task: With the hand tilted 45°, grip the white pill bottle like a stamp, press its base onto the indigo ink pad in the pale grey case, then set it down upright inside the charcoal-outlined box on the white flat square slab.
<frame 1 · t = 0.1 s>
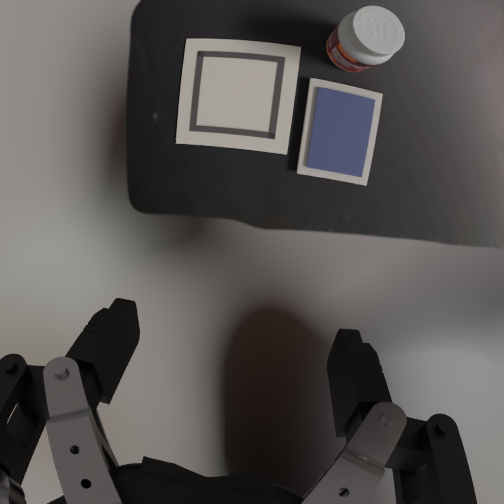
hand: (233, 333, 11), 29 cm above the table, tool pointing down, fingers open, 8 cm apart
pill bottle: (349, 50, 30), on the table
white flat square slab: (236, 92, 33), on the table
ink pad: (338, 131, 34), on the table
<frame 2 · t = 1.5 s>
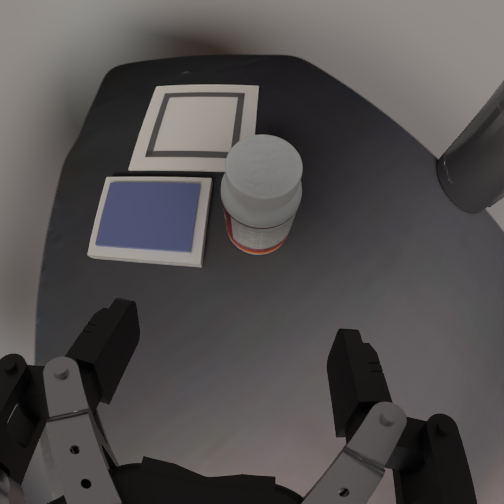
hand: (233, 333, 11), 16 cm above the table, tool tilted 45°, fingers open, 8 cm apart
pill bottle: (257, 227, 30), on the table
white flat square slab: (197, 122, 34), on the table
ink pad: (150, 220, 30), on the table
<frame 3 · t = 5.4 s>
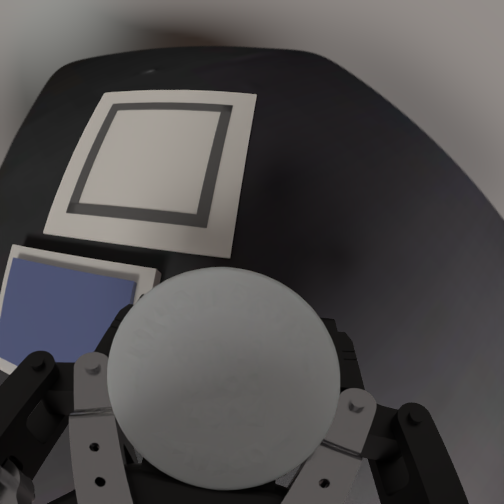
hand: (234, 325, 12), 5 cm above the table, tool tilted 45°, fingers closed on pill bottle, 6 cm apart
pill bottle: (233, 361, 17), on the table, touching gripper
white flat square slab: (150, 155, 21), on the table
ink pad: (66, 326, 17), on the table
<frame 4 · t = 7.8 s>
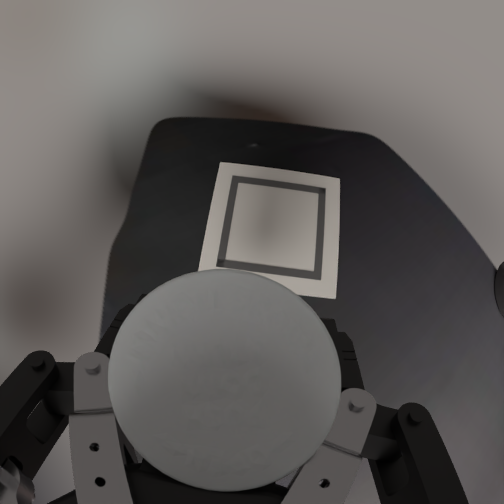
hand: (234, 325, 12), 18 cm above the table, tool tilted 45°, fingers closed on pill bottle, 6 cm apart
pill bottle: (233, 362, 17), point 12 cm above the table, touching gripper
white flat square slab: (274, 225, 32), on the table
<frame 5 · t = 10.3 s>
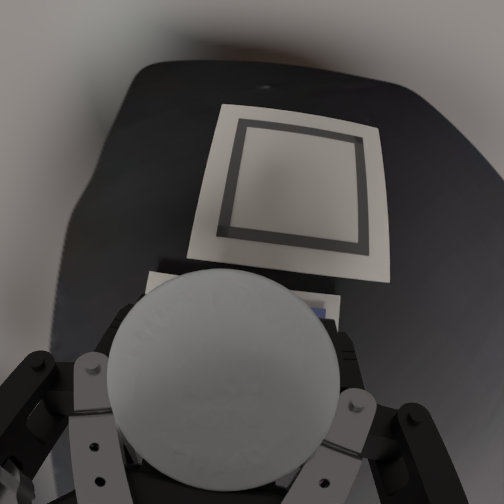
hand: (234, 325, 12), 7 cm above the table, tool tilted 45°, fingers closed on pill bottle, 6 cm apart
pill bottle: (233, 362, 17), point 2 cm above the table, touching gripper, ink pad
white flat square slab: (299, 180, 22), on the table
ink pad: (234, 358, 18), on the table
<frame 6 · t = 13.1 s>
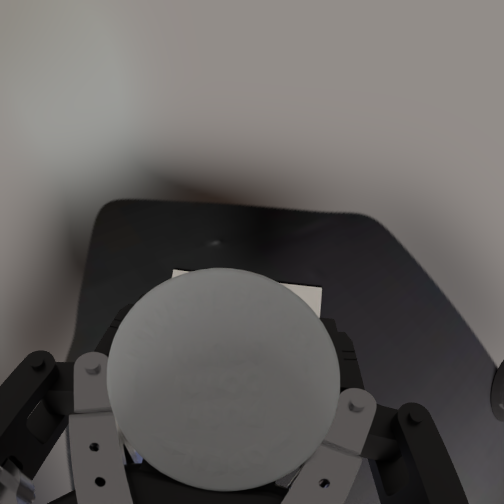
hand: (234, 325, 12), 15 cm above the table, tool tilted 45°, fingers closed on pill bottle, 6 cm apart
pill bottle: (233, 362, 17), point 10 cm above the table, touching gripper
white flat square slab: (237, 355, 26), on the table
when the fingers open (7 cm above the table, at t = 15.4 s): pill bottle drops 1 cm, resting on white flat square slab.
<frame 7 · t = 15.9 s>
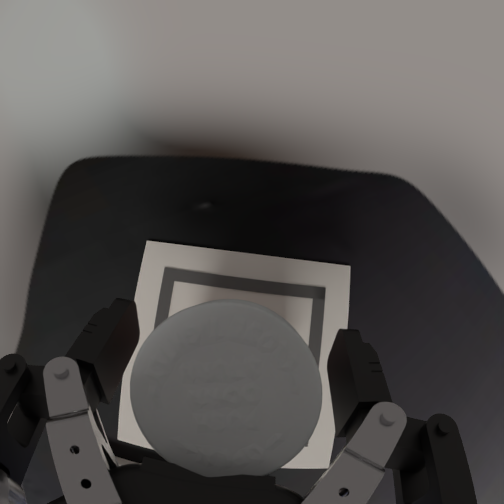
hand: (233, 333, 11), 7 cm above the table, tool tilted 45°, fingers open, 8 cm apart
pill bottle: (235, 365, 18), resting on white flat square slab
white flat square slab: (234, 360, 18), on the table
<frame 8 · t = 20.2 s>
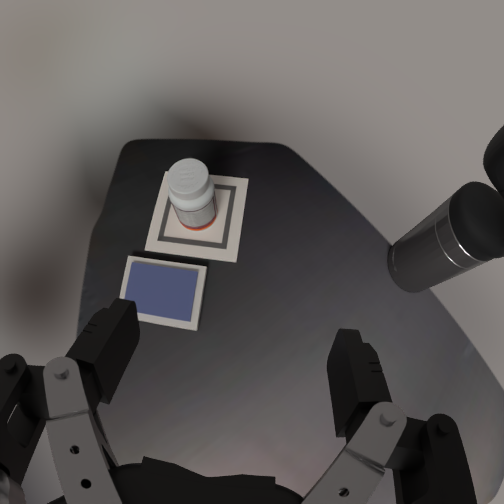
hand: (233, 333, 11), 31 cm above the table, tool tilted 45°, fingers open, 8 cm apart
pill bottle: (198, 214, 46), resting on white flat square slab
white flat square slab: (197, 213, 47), on the table
ink pad: (162, 293, 42), on the table
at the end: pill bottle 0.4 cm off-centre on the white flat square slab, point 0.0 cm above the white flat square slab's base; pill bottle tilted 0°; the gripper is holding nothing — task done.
